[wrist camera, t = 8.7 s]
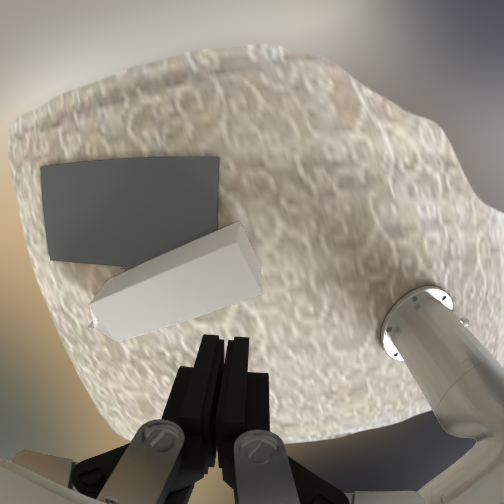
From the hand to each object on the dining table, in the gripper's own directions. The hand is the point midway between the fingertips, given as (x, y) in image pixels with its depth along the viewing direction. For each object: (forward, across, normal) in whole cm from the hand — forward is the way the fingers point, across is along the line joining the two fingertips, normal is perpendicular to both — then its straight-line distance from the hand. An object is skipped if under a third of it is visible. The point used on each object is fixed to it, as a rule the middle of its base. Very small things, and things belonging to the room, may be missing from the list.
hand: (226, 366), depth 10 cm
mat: (+23, +16, -1) cm, 28 cm away
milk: (+20, 0, +2) cm, 20 cm away
